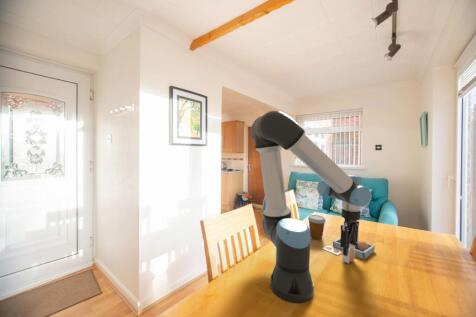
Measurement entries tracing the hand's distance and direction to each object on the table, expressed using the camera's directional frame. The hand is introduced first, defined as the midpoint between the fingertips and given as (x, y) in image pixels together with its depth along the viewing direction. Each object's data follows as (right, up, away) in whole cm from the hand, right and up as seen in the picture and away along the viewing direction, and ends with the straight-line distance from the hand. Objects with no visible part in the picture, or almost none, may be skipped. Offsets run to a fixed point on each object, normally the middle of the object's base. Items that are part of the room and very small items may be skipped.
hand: (348, 260), depth 91 cm
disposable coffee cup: (-5, 0, +25) cm, 25 cm away
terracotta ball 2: (+13, -1, +10) cm, 17 cm away
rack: (+9, 0, +12) cm, 15 cm away
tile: (-2, 0, +10) cm, 10 cm away
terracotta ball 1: (0, 0, 0) cm, 0 cm away
